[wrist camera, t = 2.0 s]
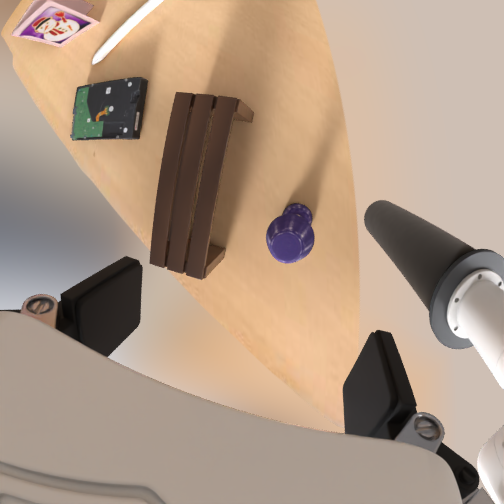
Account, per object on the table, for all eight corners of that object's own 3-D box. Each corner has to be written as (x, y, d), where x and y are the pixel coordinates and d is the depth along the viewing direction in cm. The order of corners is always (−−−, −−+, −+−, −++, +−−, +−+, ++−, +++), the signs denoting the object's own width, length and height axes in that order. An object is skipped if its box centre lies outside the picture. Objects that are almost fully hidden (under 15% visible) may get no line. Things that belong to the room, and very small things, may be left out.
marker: (97, 68, 38) (89, 66, 36) (93, 63, 38) (85, 60, 36) (168, -1, 32) (162, -7, 30) (163, -6, 32) (157, -11, 30)
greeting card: (61, 50, 38) (10, 38, 24) (63, 26, 36) (16, 11, 22) (99, 25, 35) (48, 3, 21) (101, 0, 33) (54, -23, 19)
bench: (254, 112, 36) (238, 98, 28) (223, 258, 44) (203, 280, 35) (201, 104, 37) (174, 91, 29) (176, 244, 45) (148, 263, 36)
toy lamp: (273, 215, 40) (248, 247, 25) (296, 191, 39) (287, 209, 23) (297, 239, 41) (287, 286, 25) (320, 216, 39) (327, 251, 23)
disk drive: (150, 79, 38) (85, 88, 40) (141, 75, 35) (75, 86, 37) (141, 139, 41) (78, 141, 43) (132, 138, 38) (68, 141, 40)
